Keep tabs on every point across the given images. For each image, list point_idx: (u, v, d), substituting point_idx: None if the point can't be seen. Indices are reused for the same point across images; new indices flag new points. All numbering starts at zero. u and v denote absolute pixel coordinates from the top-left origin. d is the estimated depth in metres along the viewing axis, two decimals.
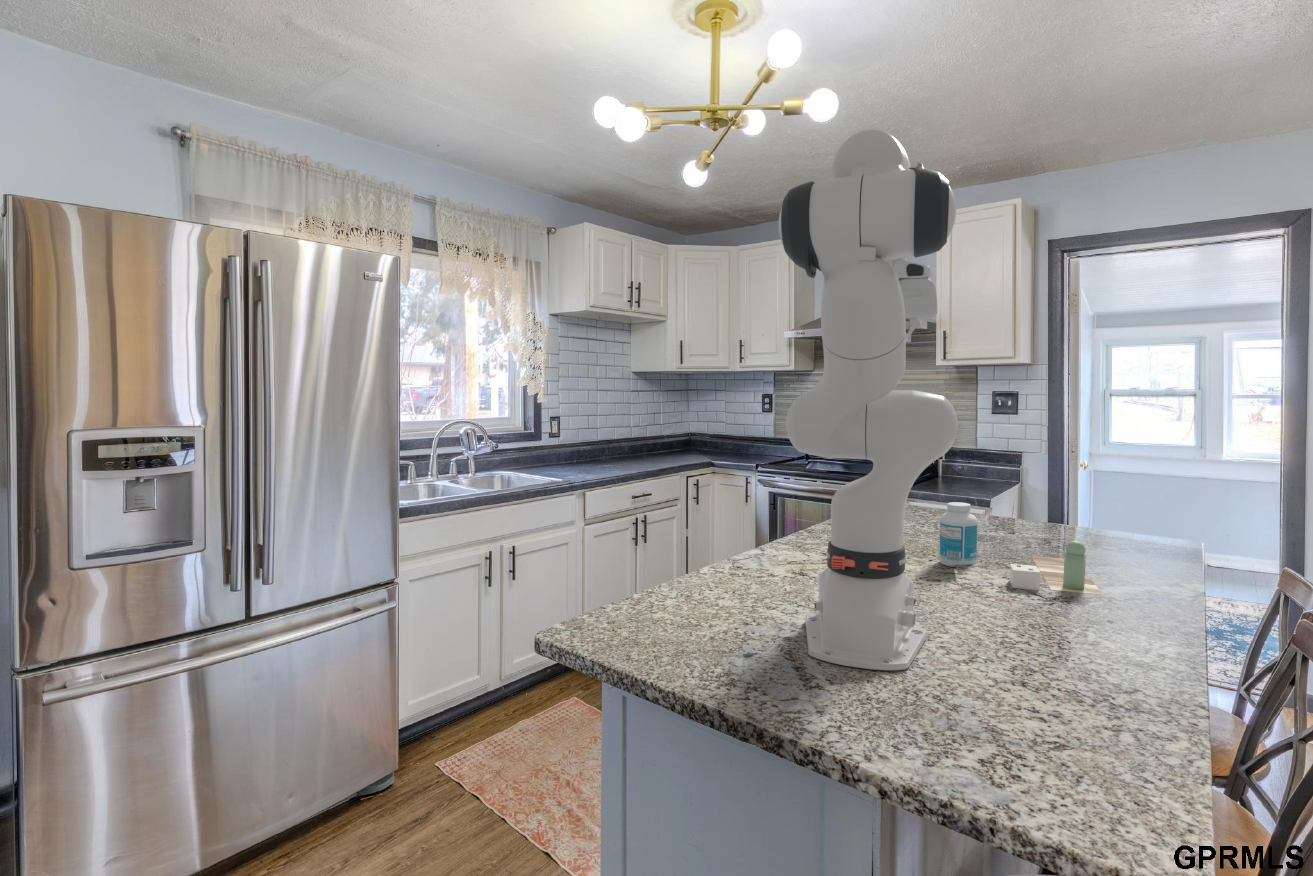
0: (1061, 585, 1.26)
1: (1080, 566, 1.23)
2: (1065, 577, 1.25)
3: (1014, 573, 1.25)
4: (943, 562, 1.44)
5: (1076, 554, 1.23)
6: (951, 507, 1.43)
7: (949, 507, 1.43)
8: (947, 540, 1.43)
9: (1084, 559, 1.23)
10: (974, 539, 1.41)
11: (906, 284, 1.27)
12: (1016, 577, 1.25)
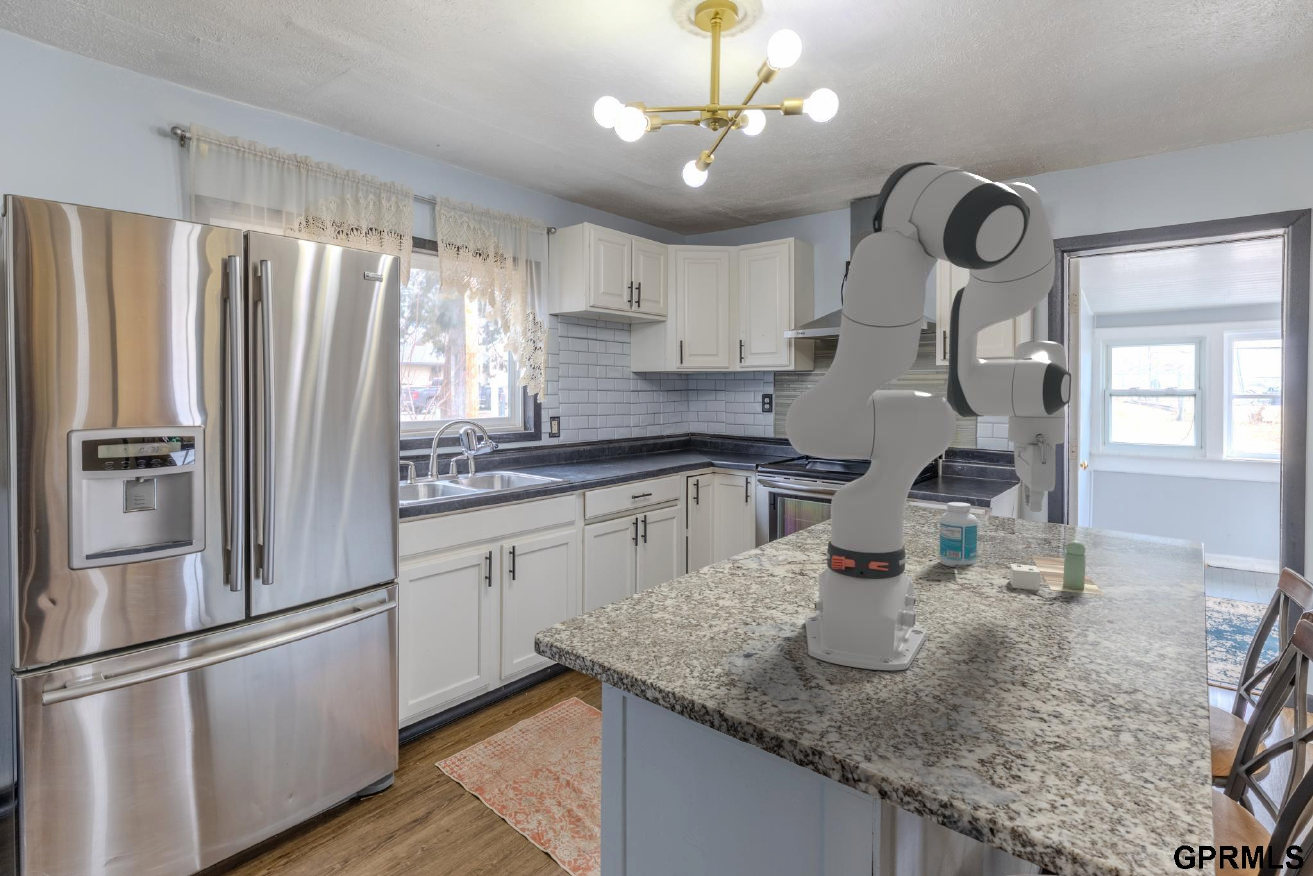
0: (1061, 585, 1.26)
1: (1080, 566, 1.23)
2: (1065, 577, 1.25)
3: (1014, 573, 1.25)
4: (943, 562, 1.44)
5: (1076, 554, 1.23)
6: (951, 507, 1.43)
7: (949, 507, 1.43)
8: (947, 540, 1.43)
9: (1084, 559, 1.23)
10: (974, 539, 1.41)
11: None
12: (1016, 577, 1.25)
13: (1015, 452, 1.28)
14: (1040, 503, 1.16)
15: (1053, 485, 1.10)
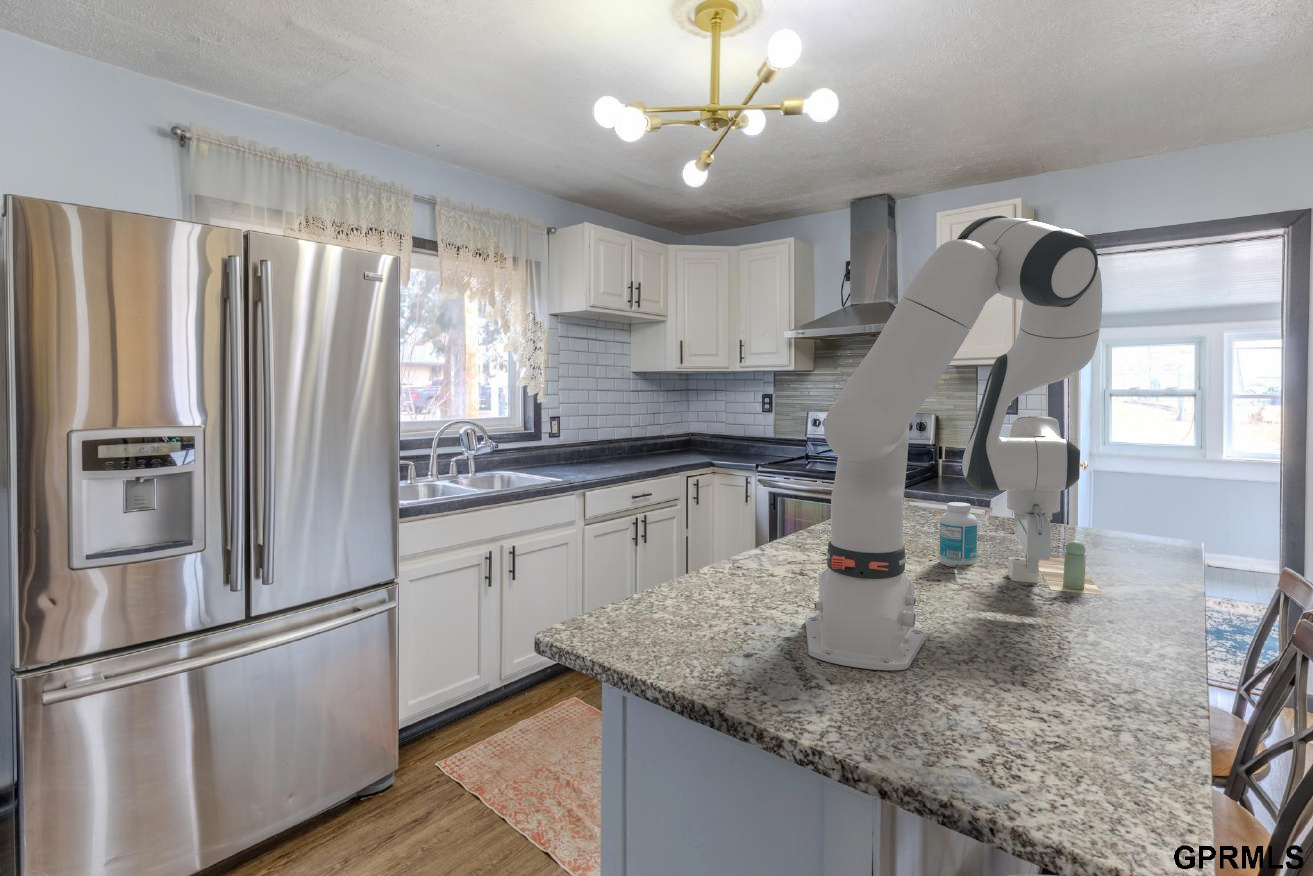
0: (1061, 585, 1.26)
1: (1080, 566, 1.23)
2: (1065, 577, 1.25)
3: (1014, 566, 1.29)
4: (943, 562, 1.44)
5: (1076, 554, 1.24)
6: (951, 507, 1.43)
7: (949, 507, 1.43)
8: (947, 540, 1.43)
9: (1084, 559, 1.23)
10: (974, 539, 1.41)
11: None
12: (1015, 570, 1.29)
13: None
14: (1037, 565, 1.25)
15: (1049, 555, 1.17)
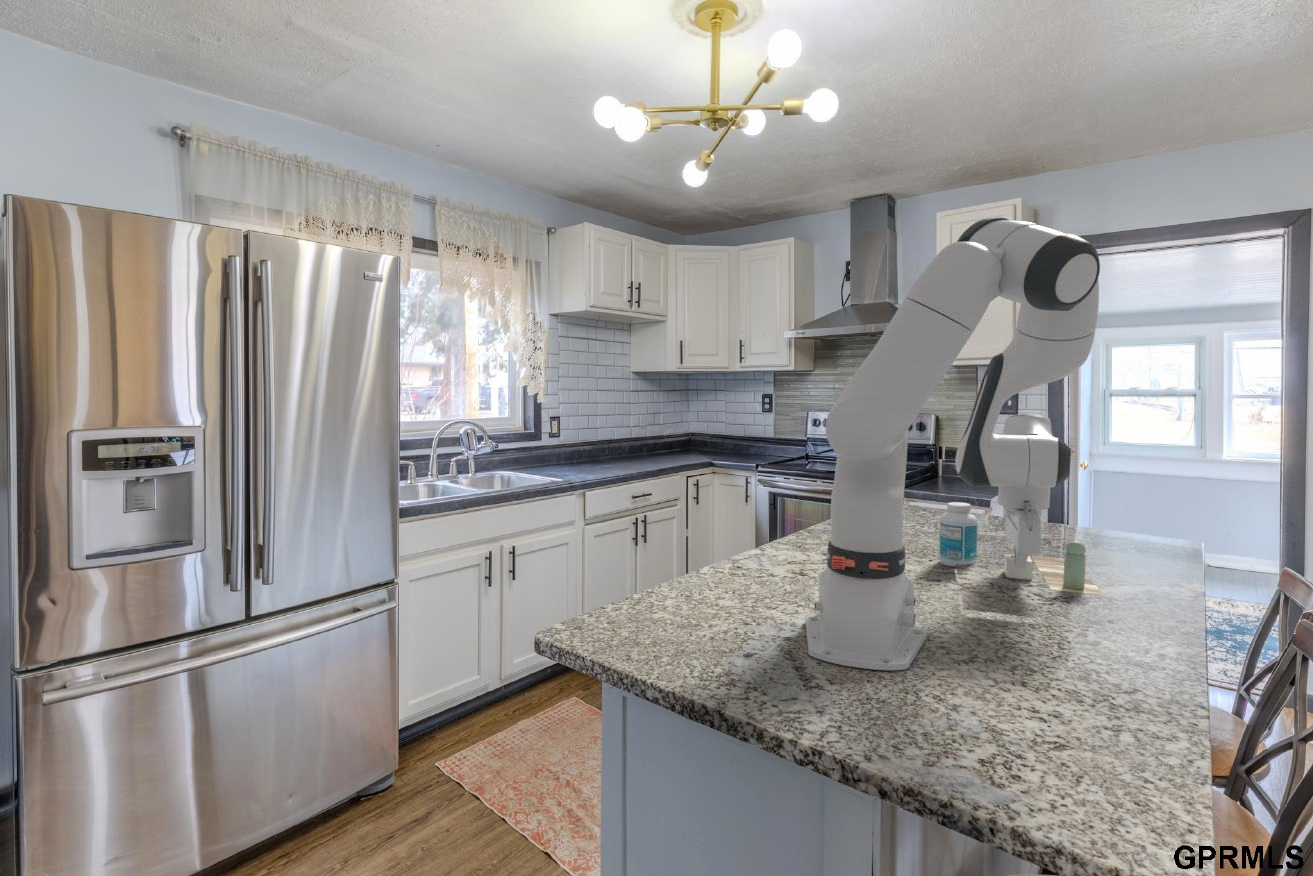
0: (1061, 585, 1.26)
1: (1080, 566, 1.23)
2: (1065, 577, 1.25)
3: (1008, 563, 1.32)
4: (943, 562, 1.44)
5: (1076, 554, 1.23)
6: (951, 507, 1.43)
7: (949, 507, 1.43)
8: (947, 540, 1.43)
9: (1084, 559, 1.23)
10: (974, 539, 1.41)
11: None
12: (1009, 566, 1.32)
13: (1004, 511, 1.37)
14: (1025, 561, 1.28)
15: (1039, 551, 1.19)
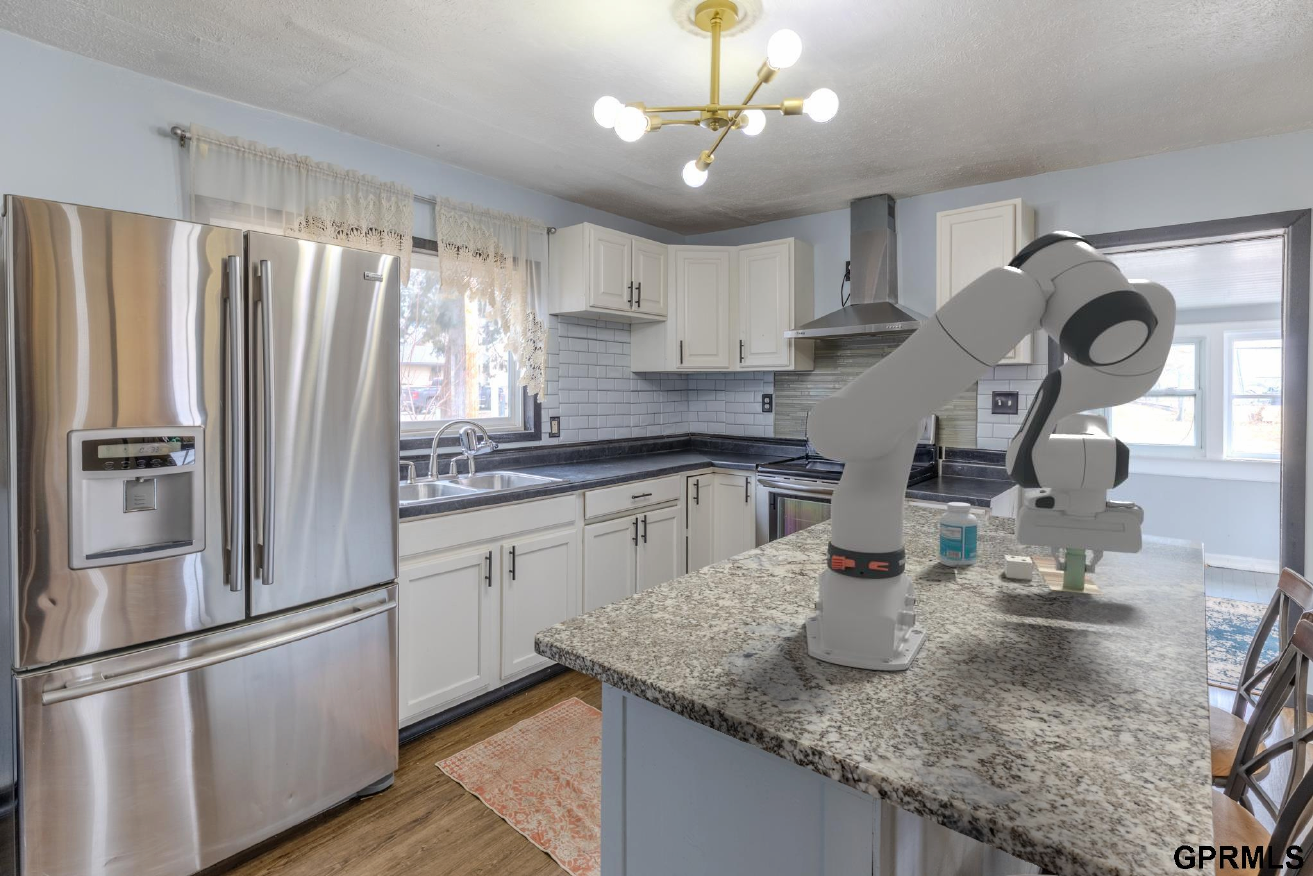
0: (1061, 585, 1.26)
1: (1080, 566, 1.23)
2: (1065, 577, 1.25)
3: (1008, 564, 1.32)
4: (943, 562, 1.44)
5: (1076, 554, 1.23)
6: (951, 507, 1.43)
7: (949, 507, 1.43)
8: (947, 540, 1.43)
9: (1084, 559, 1.23)
10: (974, 539, 1.41)
11: None
12: (1009, 567, 1.32)
13: (1028, 522, 1.25)
14: None
15: None
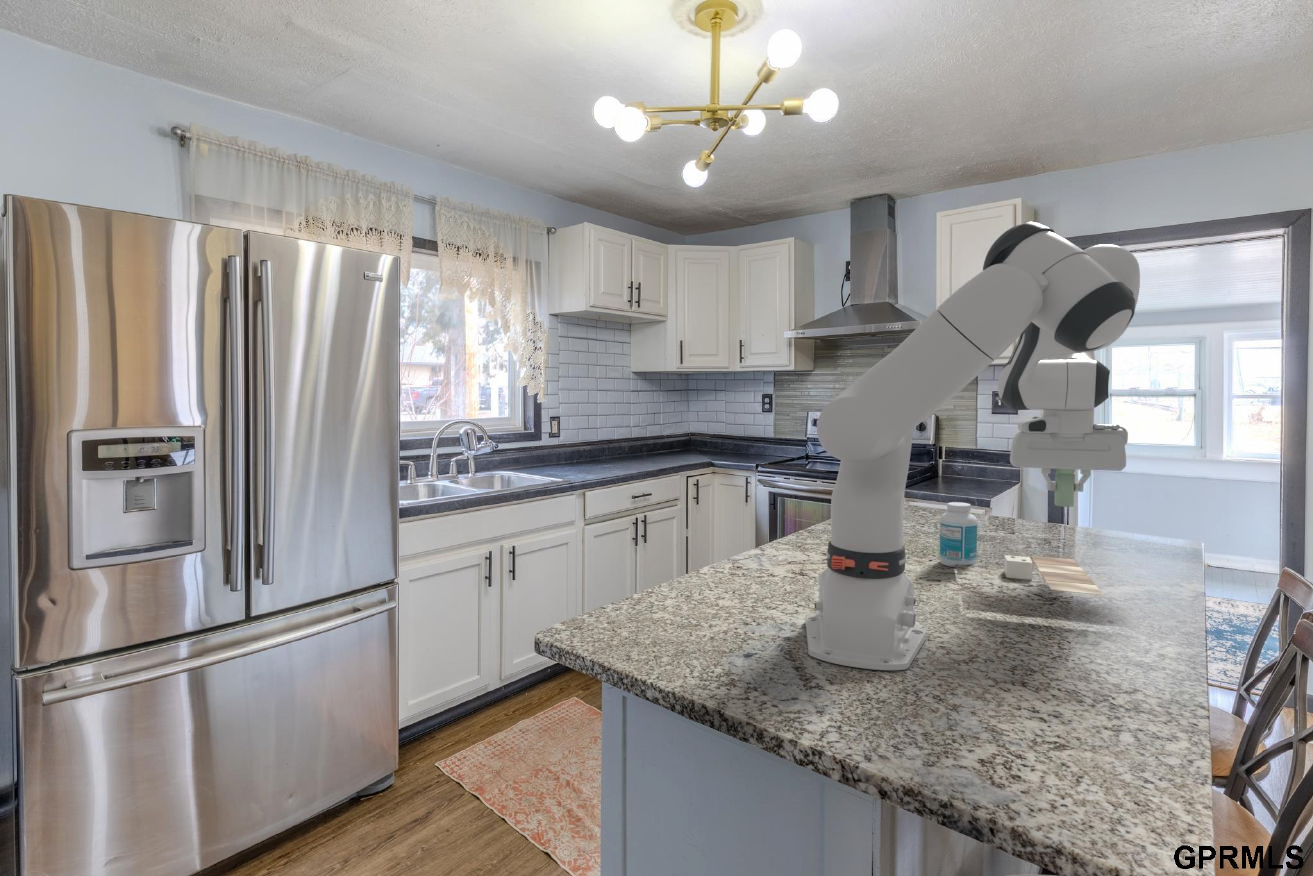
0: (1061, 585, 1.26)
1: (1069, 485, 1.34)
2: (1056, 496, 1.36)
3: (1008, 563, 1.32)
4: (943, 562, 1.44)
5: (1066, 473, 1.34)
6: (951, 507, 1.43)
7: (949, 507, 1.43)
8: (947, 540, 1.43)
9: (1073, 478, 1.34)
10: (974, 539, 1.41)
11: None
12: (1009, 567, 1.32)
13: (1021, 445, 1.36)
14: None
15: None
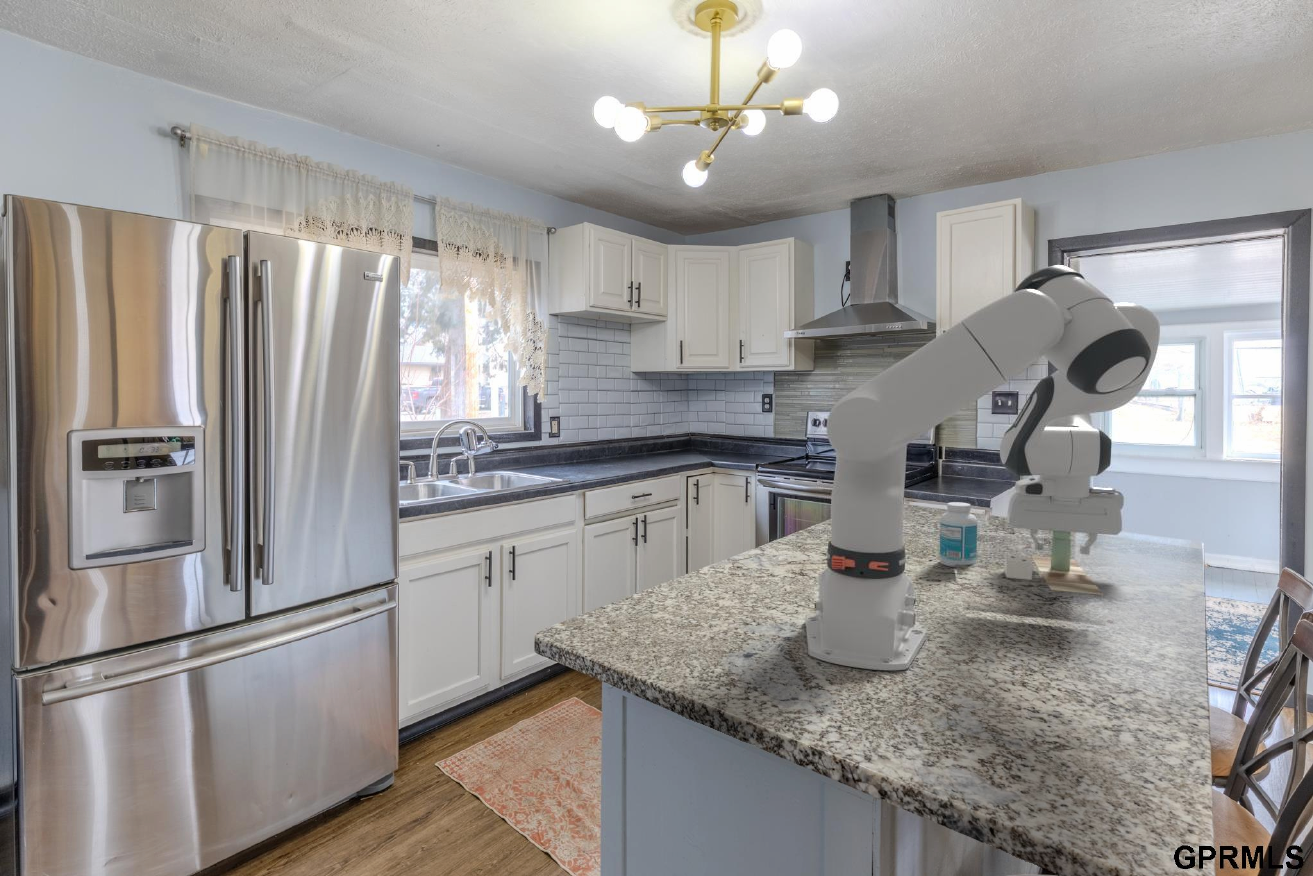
0: (1061, 585, 1.26)
1: (1066, 549, 1.35)
2: (1052, 560, 1.37)
3: (1008, 563, 1.32)
4: (943, 562, 1.44)
5: (1062, 538, 1.36)
6: (951, 507, 1.43)
7: (949, 507, 1.43)
8: (947, 540, 1.43)
9: (1069, 543, 1.35)
10: (974, 539, 1.41)
11: None
12: (1009, 567, 1.32)
13: (1019, 507, 1.37)
14: None
15: None
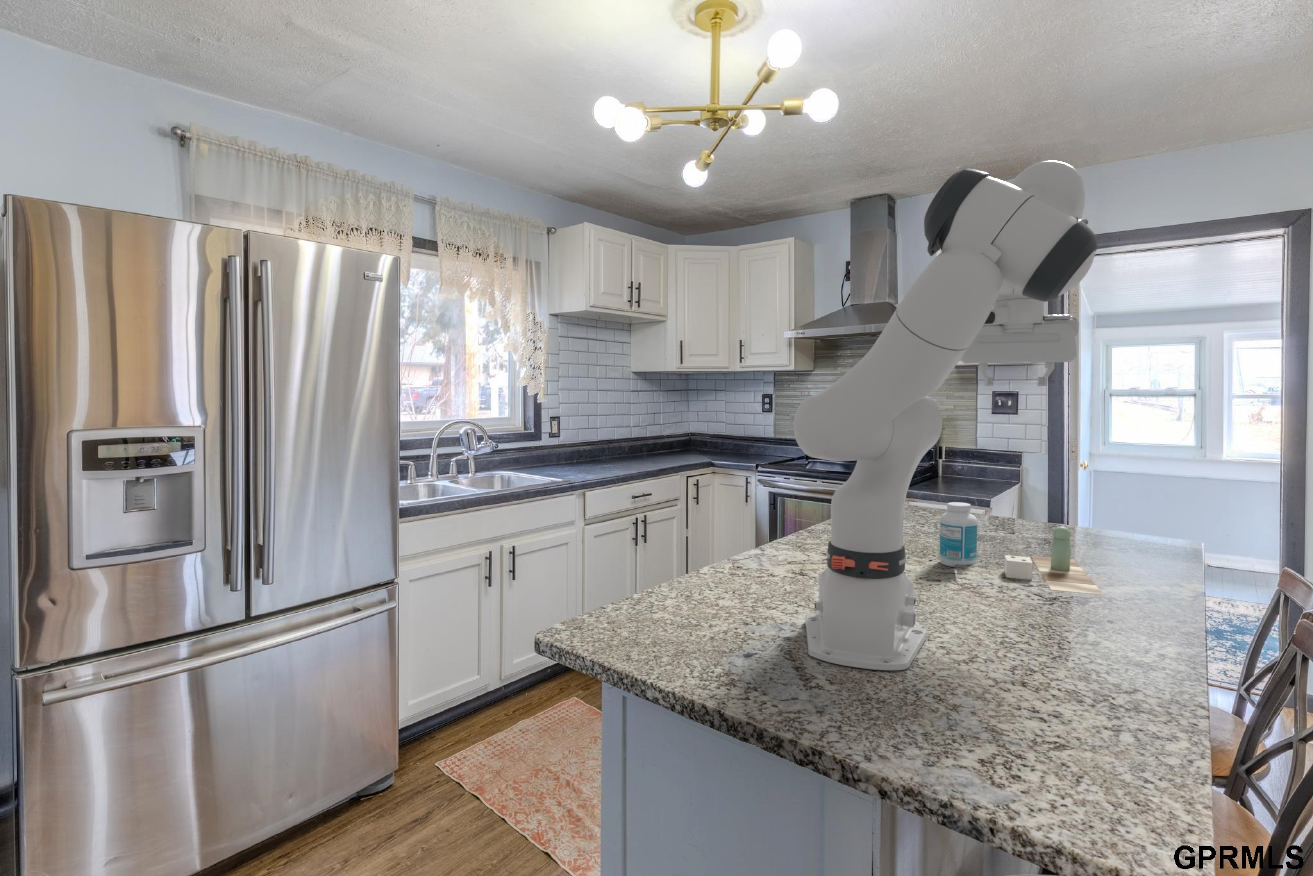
0: (1061, 585, 1.26)
1: (1066, 550, 1.35)
2: (1052, 560, 1.37)
3: (1008, 563, 1.32)
4: (943, 562, 1.44)
5: (1062, 538, 1.36)
6: (951, 507, 1.43)
7: (949, 507, 1.43)
8: (947, 540, 1.43)
9: (1069, 543, 1.35)
10: (974, 539, 1.41)
11: None
12: (1009, 567, 1.32)
13: None
14: None
15: None
